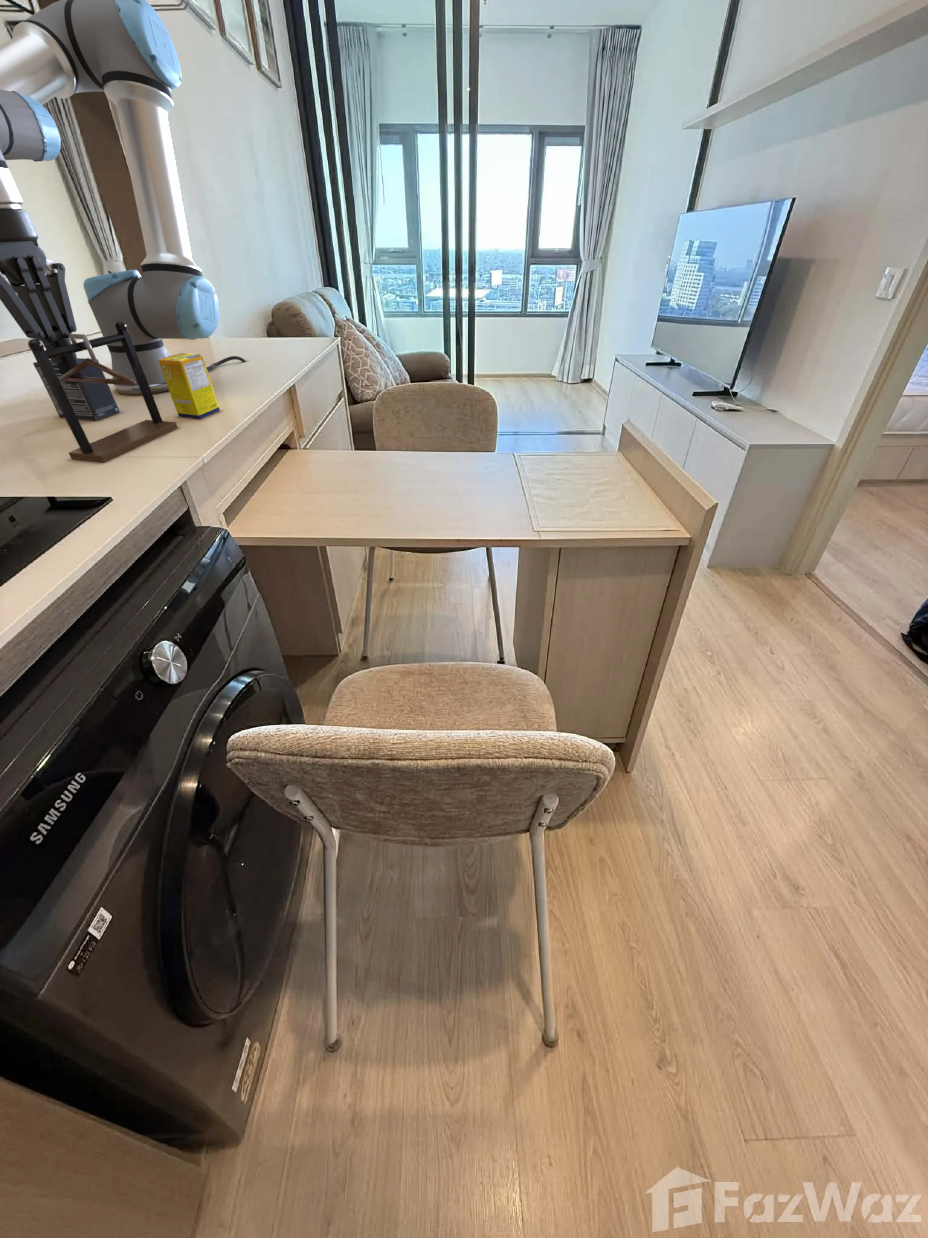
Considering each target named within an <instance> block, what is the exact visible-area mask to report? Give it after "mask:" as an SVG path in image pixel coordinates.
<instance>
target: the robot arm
mask: <svg viewBox="0 0 928 1238" xmlns="http://www.w3.org/2000/svg"><path fill="white" fill-rule="evenodd" d="M11 36H12V37H11V39H9V40H7V41H6V42H4V43H2V44H0V302H1V303H2V304H3V306H4V307H5V308H6V310H7V311H8V313H9V314H10V315H11V317H12V318H13V320H14V321H15V322H16V324H17V325H18V326H19V328H20V330H21V331H22V333H23V334H24V335H25V336H26V337H27V338H28V339H36V340H39V341H40V342H41V343H42V344H43V346H44V349H45V350H48V349H53V348H57V347H61V346H66V345H70V344H72V342H71V340H70V338H69V334H73V333H76V332H77V329H78V328H77V324H76V320H75V317H74V312H73V308H72V304H71V301H70V297H69V292H68V287H67V284H66V267H65V265H64V264H63V263H62V262H55V261H53V260H52V259H49V258H48V257H47V254H46V253H45V252H44V250H43V249H42V248H41V246H40V244H39V243H38V239H39V236H38V232H37V231H36V227H35V225H34V223H33V221H32V219H31V217H30V215H29V213H28V212H27V211H26V209H22V207H21V205H22V206H23V205H24V200H23V198H22V195H21V193H20V191H19V189H18V187H17V185H16V182H15V180H14V178H13V176H12V173H11V172H10V171H11V170H10V169H9V166H8V164H7V162H6V161H18V160H26V161H27V160H28V161H33V162H41V163H42V162H49V161H53V160H55V159H56V158H57V157H58V156H59V155H60V151H61V145H62V142H61V141H62V140H61V136H60V132H59V129H58V127H57V124H56V122H55V119H54V118H53V117H52V115H51V114H50V112H49V111H48V110H47V108H45V107H44V105H45V104H47V103H48V102H49V101H50V100H52V99H53V98H56V99H62V100H63V99H69V98H70V97H72V96H73V95H74V94H78V93H89V92H90V93H91V92H103V93H104V94H105V96H106V97H107V98H108V100H110V101H111V102H112V103H113V104H114V106H115V107H116V112H117V117H118V122H119V125H120V127H119V128H120V131H121V137H122V142H123V146H124V151H125V156H126V160H127V166H128V170H129V175H130V179H131V185H132V190H133V195H134V199H135V204H136V209H137V214H138V220H139V224H140V229H141V233H142V238H143V243H144V248H145V253H146V255H145V258H144V259H143V261H142V262H141V263H140V268H141V273H142V275H141V274H140V272H139V271H138V270H137V269H128V270H123V271H116V272H111V273H105V274H99V275H95V276H91V277H87V278H86V279H84V281H83V283H82V285H83V290H84V292H85V296H86V298H87V303H88V305H89V308H90V310H91V311H92V314H93V316H94V319H95V322H96V324H97V326H98V327H99V330H100V332H101V335H102V337H104V336H108V335H113V334H117V333H118V332H117V330H116V328H115V323H116V322H117V321H122V322H124V323H125V324H126V326H127V330H128V332H129V335H130V337H131V340H132V343H133V345H134V348H135V350H136V353H137V356H138V358H139V361H140V363H141V366H142V369H143V371H144V374H145V377H146V379H147V382H148V384H149V387H150V390H151V392H152V394H158V393H163V392H164V393H165V392H170V391H169V389H168V386H167V383H166V380H165V378H164V375H163V372H162V369H161V367H160V364H159V361H158V359H161V358H165V357H168V356H171V354H170V353H169V351H168V350H167V349H166V345H165V343H164V341H163V340H191V341H193V340H197V339H206V338H209V337H211V336H212V335H214V333H215V331H216V329H217V328H218V325H219V322H220V303H219V299H218V295H217V293H216V292H215V288H214V286H213V284H212V283H211V282H210V281H209V280H208V279H207V278H205V277H203V271H202V269H201V268H200V267H199V266H198V265H197V264H196V263H195V261H194V260H193V258H192V252H191V251H192V250H191V246H190V241H189V234H188V230H187V229H188V228H187V222H186V216H185V211H184V206H183V201H182V194H181V189H180V183H179V177H178V172H177V165H176V160H175V155H174V149H173V142H172V138H171V132H170V126H169V121H168V116H169V115H170V113H171V112H172V111H173V110H174V101H173V95H172V90H177V88H179V87H180V85H181V81H182V69H181V63H180V59H179V56H178V54H177V50H176V48H175V45H174V42H173V41H172V38H171V36H170V34H169V31H168V30H167V27H166V26H165V24H164V22H163V21H162V19H161V17H160V16H159V14H158V13H157V11H156V10H155V9H154V8H153V6H152V5H151V4H150V3H149V2H148V1H147V0H58V1H55V2H52V3H51V4H49V5H48V6H46V7H44V8H41V9H40V10H38V11H37V12H35V13H34V14H32V15H31V16H29V17H27V18H26V19H24V20H22V21H21V22H19V23H18V24H16V25H15V26H14V27H13V30H12V35H11ZM106 347H107V349H108V352H109V354H110V359H111V369H112V370H114V371H116V372H118V373H120V374H122V375H124V376H126V377H128V378H130V379H132V380H134V381H135V385H134V386H132V385H119V384H113V386H114V389H115V390H116V392H117V393H118V394H120V395H125V396H127V395H128V396H141V395H142V393H141V390H140V388H139V385H138V383H137V380H136V378H135V375H134V373H133V370H132V368H131V365H130V362H129V360H128V357H127V355H126V352H125V350H124V347H123V345H122V342H121V341H120V342H116V343H112V344H108V345H106ZM77 358H78V356H77V352H76V353H72V354H68V355H64V356H60V357H56V358H52V359H51V360H52V361H53V363H56V364H57V366H58V368H59V370H60V372H61V374H62V375H64V374H65V373H67V372H68V371H69V370H71V369H72V368H74V367H75V366H76V365H77V363H76V360H75V359H77ZM234 360H237V361H240V362H242V363H246V362H247V360H246V359H245V358H243V357H241V356H237V355H231V356H227V357H224V358H223V359H220V360H219V361H217V362H213V363H211V364H210V365H209V366H206V368H207V372H209V371H212V370H214V368H215V367H218V366H221V365H223V364H226V363H228V362H229V361H234ZM73 377H83V376H82V374H81V372H79V373H77V374H76V375H74V376H73ZM111 379H118V378H116V377H114V376H111ZM65 383H81V382H70V381H65ZM142 396H143V395H142Z"/></svg>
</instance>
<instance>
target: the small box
mask: <svg viewBox="0 0 928 1238" xmlns="http://www.w3.org/2000/svg"><path fill="white" fill-rule="evenodd" d="M85 359H86V358H82V357H77V359H75V360H76V363H77V365H78V364H79V363H81V362H82V361H83V360H85ZM96 359H97V362H98V363H100V361H99V359H98V358H96ZM49 360H50V362H51V364H52V366H53V368H54V371H55V373H56V375H57V377H58V379H59V381H60V383H61V385H62V387H63V389H64V391H65V393H66V395H67V397H68V400H69V402H70V404H71V406H72V408H73V410H74V412H75V414H76V416H77V418H78V420H87V421H98V420H101V419H104V418H107V417H109V416H112V415H115V414H118V413H120V412H121V411H120V409H119V406H118V404H117V402H116V400H115V398H114V394H113V393H112V390H111V388H110V384H103V383H87V382H81V383H65V381H62V380H61V376H62V374H61V372H60V370H59V368H58V366H57V364H56V363H53V361H52V360H51V359H49ZM32 364H33V366H34V369H35V370H36V372H37V373H38V376H39V377H40V379H41V382H42V383H43V386H44V387H45V390H46V392H47V394H48V396H49V398H50V400H51V402H52V405H53V407H54V408H55V410H56V413H57V415H58V417H59V418H63V419H64V418H65V417H64V415H63V413H62V411H61V409H60V407H59V405H58V403H57V401H56V399H55V397H54V395H53V393H52V391H51V389H50V387H49V385H48V383H47V381H46V379H45V377H44V375H43V373H42V371H41V369H40V367H39V365H38V363H37V361H35V362H33V363H32ZM80 372H81V374H82V376H83V377H89V378H106V376H105V374H104V373H105V372H104V371H101V370H99V369H97V368H95V367H93V366H91V365H89V366H87V367H86V368H84V369H83V370H81V371H80Z"/></svg>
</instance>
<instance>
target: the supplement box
mask: <svg viewBox="0 0 928 1238" xmlns="http://www.w3.org/2000/svg"><path fill="white" fill-rule="evenodd" d="M158 361H159V364H160V367H161V369H162V372H163V375H164V378H165V380H166V383H167V386H168V389H169V391H168V392H169V394H170V397H171V400H172V401H173V405H174V407H175V411H176V413H177V416H178V418H185V419H195V420H202V419H204V418H206V417H208V416H210V415H213V414H216V413H218V412H220V411H221V409H220V407H219V403H218V400H217V397H216V394H215V390H214V388H213V385H212V382H211V378H210V374H209V371H207V368H206V367H207V366H206V365H207V364H206V362H205V359H204V356H203V355H202V354H201V353H189V352H188V353H187V352H179V353H176V354H172V355H170V356H168V357H165V358H161V359H158Z"/></svg>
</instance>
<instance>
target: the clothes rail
mask: <svg viewBox="0 0 928 1238" xmlns="http://www.w3.org/2000/svg"><path fill="white" fill-rule="evenodd" d="M115 328H116V330H117V332H118V333H117V334H113V335H108V336H104V337H103V336H99V337H96V338H92V339H88V340H89V343H90V345H91V347H92V349H96V348H99V347H103V346H107V345H108V344H112V343H116V342H120V341H121V342H122V345H123V347H124V350H125V352H126V355H127V357H128V360H129V362H130V365H131V368H132V370H133V373H134V375H135V378H136V380H137V383H138V385H139V388H140V390H141V393H142V398H143V401H144V402H145V406H146V408H147V411H148V413H149V416H150V418H151V419H145V420H142V421H140V422H138V423H135V424H133V425H131V426H128V427H125V428H123V429H121V430H118V431H116V432H114V433H111V434H109V435H106V436H104V437H102V438H100V439H97V440H95V441H92V442H90V441H89V439H88V437H87V435H86V433H85V430H84V428H83V427H82V424H81V422H80V419H78V418H77V416H76V414H75V412H74V410H73V408H72V406H71V404H70V402H69V400H68V397H67V395H66V393H65V391H64V389H63V387H62V385H61V383H60V381H59V379H58V377H57V375H56V373H55V371H54V368H53V366H52V364H51V362H50V359H52V358H56V357H60V356H64V355H68V354H72V353H76V354H77V353H79V352H83V351H88V350H87V348H86V345H85V343H84V341H83V340H82V341H79V342H78V341H77V343H74V344H72V343H71V344H70V345H66V346H61V347H57V348H53V349H48V350H46V349H45V346H44V344H43V343H42V341H39V340H36V339H33V338H30V339H29V340H28V342H27V346H28V348H29V350H31V352H32V355H33V356H34V359H35V362H37V363H38V365H39V367H40V369H41V371H42V373H43V375H44V377H45V379H46V381H47V383H48V385H49V387H50V389H51V391H52V393H53V395H54V397H55V399H56V401H57V403H58V405H59V407H60V409H61V411H62V413H63V415H64V417H65V421H66V423H67V425H68V427H69V429H70V431H71V433H72V435H73V437H74V439H75V441H76V443H77V445H78V447H77V448H76V449H73V450H71V451H69V452H68V455H69V457H70V459H71V460H74V461H75V460H76V461H83V462H93V463H94V462H96V463H107V462H109V461H110V460H113V459H115V458H117V457H120V456H122V455H124V454H126V453H128V452H130V451H132V450H135V449H137V448H139V447H141V446H143V445H145V444H147V443H149V442H152V441H154V440H156V439H158V438H160V437H163V436H164V435H166V434H169V433H171V432H173V431H175V430H177V429H179V427H178V424H177V422H176V421H168V420H167V421H165V420H163V418H162V416H161V413H160V411H159V408H158V405H157V403H156V400H155V398H154V394H153V393H152V392H151V390H150V387H149V384H148V382H147V379H146V377H145V374H144V371H143V369H142V366H141V363H140V361H139V358H138V356H137V353H136V350H135V348H134V345H133V343H132V340H131V337H130V335H129V332H128V330H127V326H126V324H125V323H124V322H122V321H117V322H116V323H115ZM64 417H63V418H64Z"/></svg>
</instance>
